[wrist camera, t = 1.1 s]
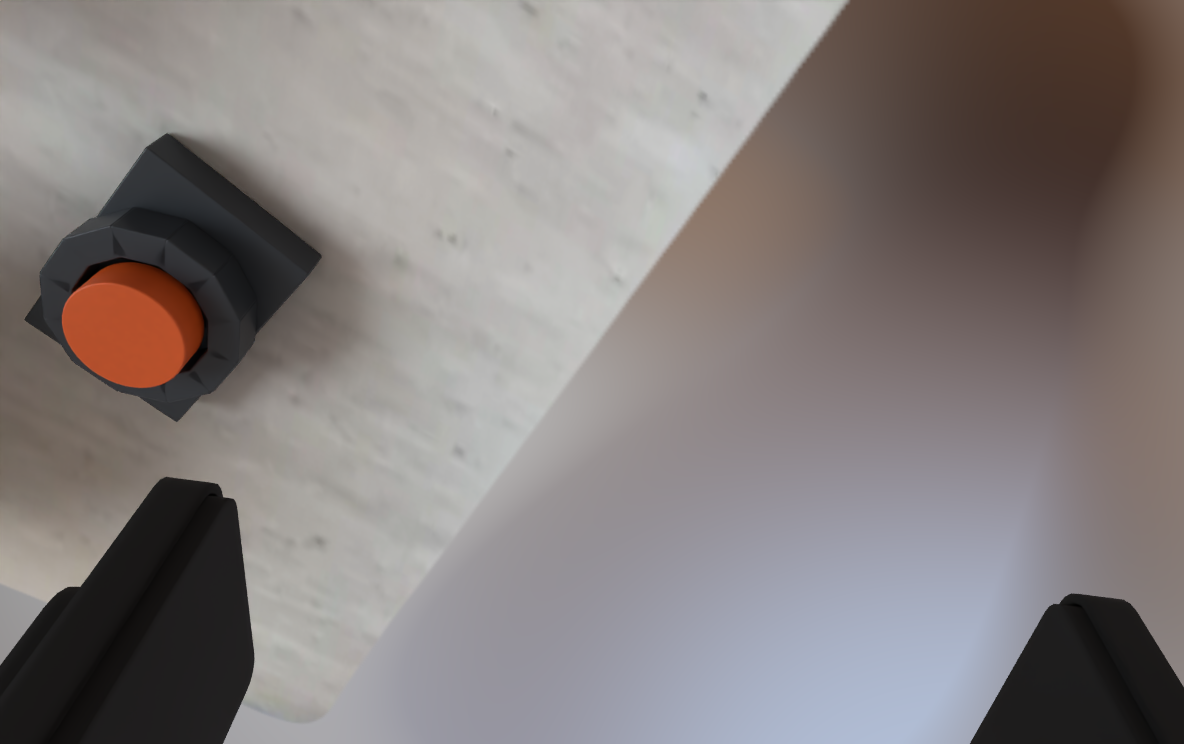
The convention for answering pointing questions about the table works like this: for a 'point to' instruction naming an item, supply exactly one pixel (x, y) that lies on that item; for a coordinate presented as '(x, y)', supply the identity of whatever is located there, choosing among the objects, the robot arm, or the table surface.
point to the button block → (183, 263)
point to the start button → (133, 324)
